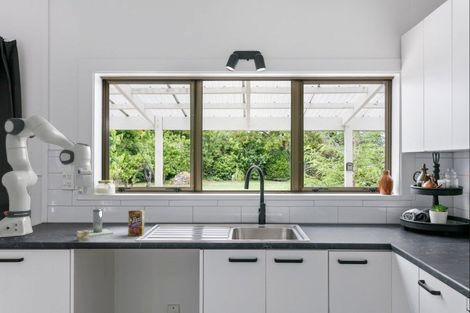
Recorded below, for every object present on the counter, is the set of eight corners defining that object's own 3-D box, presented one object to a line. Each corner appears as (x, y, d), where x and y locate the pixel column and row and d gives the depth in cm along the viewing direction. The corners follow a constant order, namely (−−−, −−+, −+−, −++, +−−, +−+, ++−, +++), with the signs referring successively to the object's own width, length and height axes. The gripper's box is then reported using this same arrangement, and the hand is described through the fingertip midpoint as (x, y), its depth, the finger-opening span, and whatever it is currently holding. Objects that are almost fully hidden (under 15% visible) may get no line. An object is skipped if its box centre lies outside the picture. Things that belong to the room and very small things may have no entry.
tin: (94, 233, 201) (94, 210, 202) (91, 231, 205) (91, 209, 206) (103, 231, 205) (103, 209, 205) (100, 230, 209) (100, 208, 209)
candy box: (127, 235, 199) (128, 210, 200) (130, 234, 203) (130, 209, 204) (141, 236, 198) (142, 210, 199) (144, 234, 203) (144, 209, 203)
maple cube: (79, 241, 184) (79, 232, 184) (76, 240, 188) (77, 231, 188) (88, 240, 187) (88, 231, 187) (86, 238, 191) (86, 230, 191)
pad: (89, 237, 195) (89, 235, 195) (82, 233, 206) (82, 231, 206) (113, 233, 204) (113, 232, 204) (105, 230, 215) (105, 228, 215)
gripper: (72, 170, 198) (71, 193, 198) (81, 171, 182) (81, 196, 182) (83, 170, 202) (83, 193, 202) (93, 171, 186) (93, 195, 186)
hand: (82, 194), depth 192 cm, fingers open, 8 cm apart
